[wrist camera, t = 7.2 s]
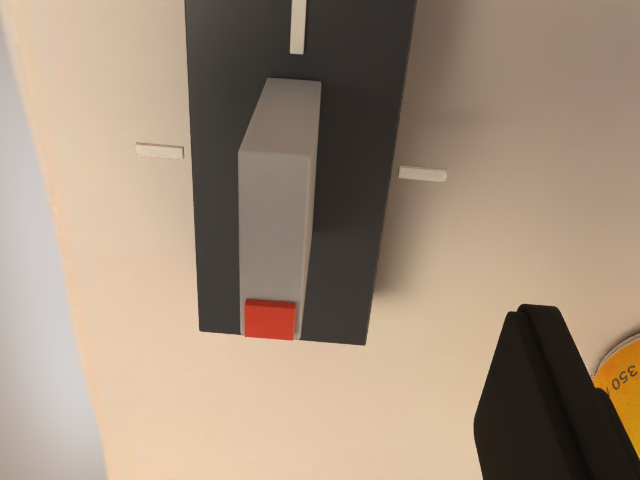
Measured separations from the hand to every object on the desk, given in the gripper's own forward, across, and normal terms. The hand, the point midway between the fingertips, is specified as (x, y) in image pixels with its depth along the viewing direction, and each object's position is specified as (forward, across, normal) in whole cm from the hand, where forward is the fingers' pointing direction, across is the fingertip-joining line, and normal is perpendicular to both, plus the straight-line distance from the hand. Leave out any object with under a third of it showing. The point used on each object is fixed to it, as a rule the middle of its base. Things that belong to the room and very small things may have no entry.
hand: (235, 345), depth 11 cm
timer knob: (+8, 0, +1) cm, 8 cm away
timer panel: (+12, 0, +2) cm, 12 cm away
